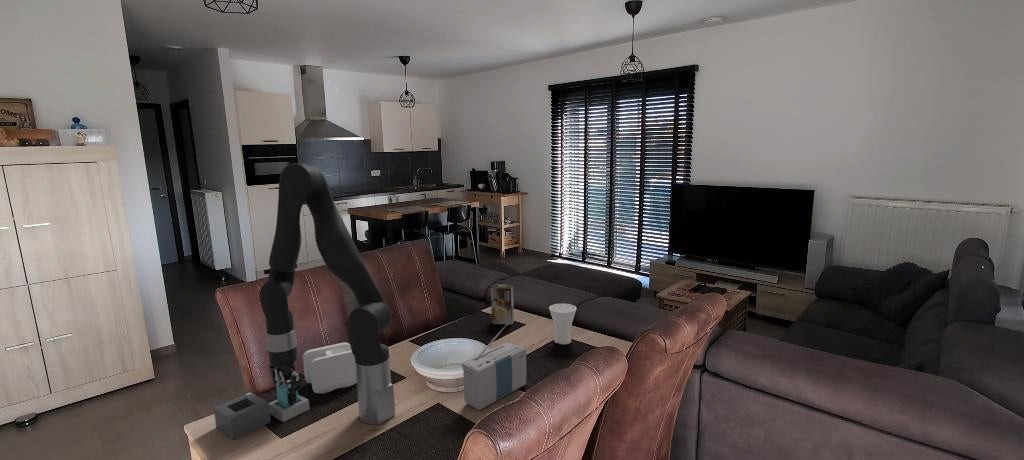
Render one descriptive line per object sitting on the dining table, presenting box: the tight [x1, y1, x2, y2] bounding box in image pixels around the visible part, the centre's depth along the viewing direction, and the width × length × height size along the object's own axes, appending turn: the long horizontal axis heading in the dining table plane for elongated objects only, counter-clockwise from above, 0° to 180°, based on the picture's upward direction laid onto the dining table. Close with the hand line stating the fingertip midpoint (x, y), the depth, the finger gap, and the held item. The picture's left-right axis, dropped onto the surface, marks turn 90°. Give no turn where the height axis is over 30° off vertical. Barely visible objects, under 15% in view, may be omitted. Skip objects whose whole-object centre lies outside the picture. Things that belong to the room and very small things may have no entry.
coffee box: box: [490, 283, 515, 325], centre depth 207 cm, size 9×6×16 cm
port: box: [213, 392, 272, 440], centre depth 133 cm, size 10×10×6 cm
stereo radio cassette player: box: [461, 324, 527, 411], centre depth 145 cm, size 21×8×20 cm, turn 137°
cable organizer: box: [302, 342, 357, 394], centre depth 155 cm, size 15×11×12 cm
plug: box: [275, 380, 299, 409], centre depth 139 cm, size 4×4×10 cm
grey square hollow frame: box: [269, 394, 310, 423], centre depth 140 cm, size 8×8×3 cm
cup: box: [548, 303, 577, 345], centre depth 185 cm, size 10×10×14 cm
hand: (288, 400), depth 139 cm, fingers closed on plug, 4 cm apart
